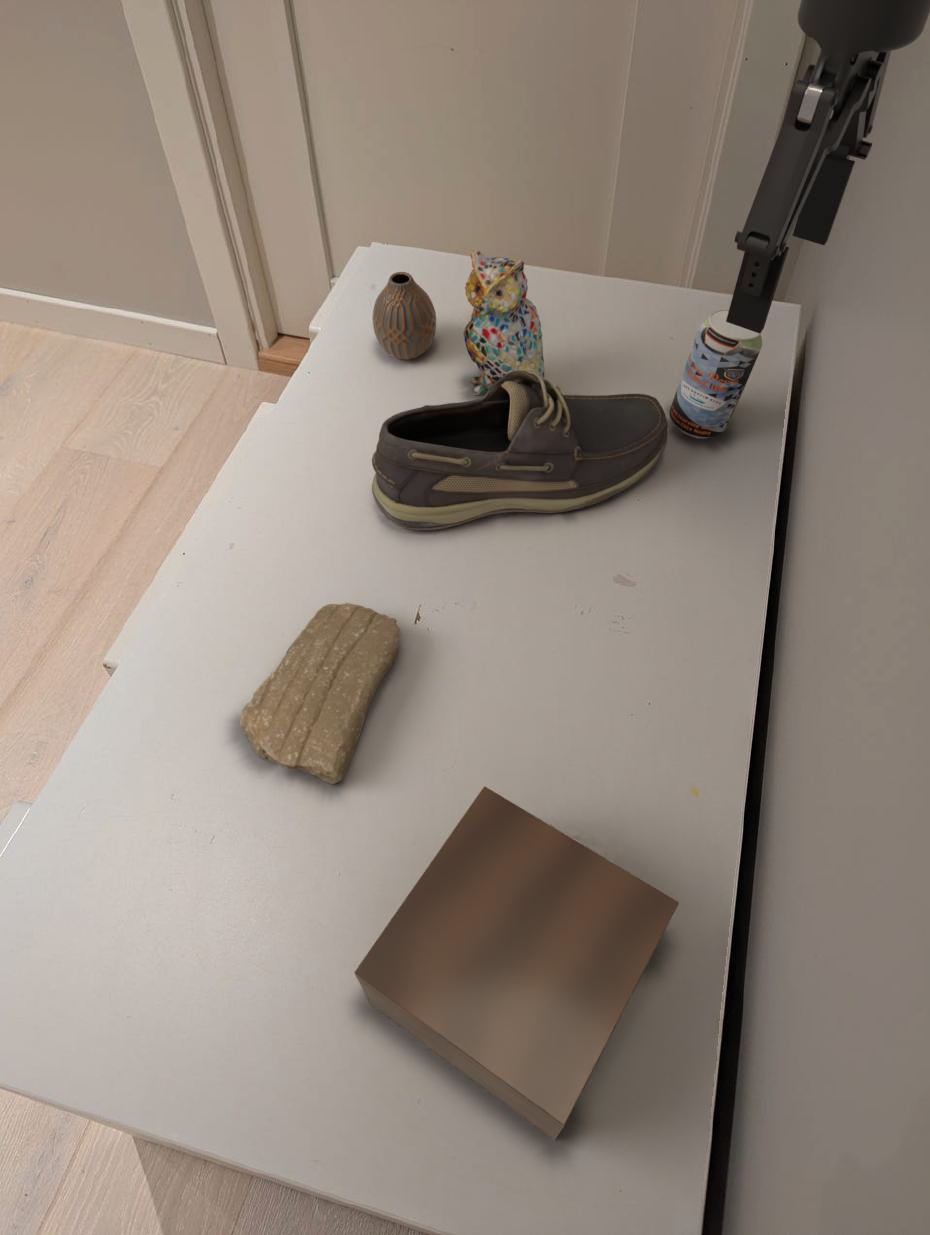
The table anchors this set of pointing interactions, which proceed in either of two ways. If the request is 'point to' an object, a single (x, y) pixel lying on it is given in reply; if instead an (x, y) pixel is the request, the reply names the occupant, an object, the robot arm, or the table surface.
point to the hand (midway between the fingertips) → (778, 280)
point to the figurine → (501, 321)
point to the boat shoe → (513, 453)
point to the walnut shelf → (516, 957)
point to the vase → (404, 318)
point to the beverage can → (714, 376)
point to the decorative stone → (322, 691)
